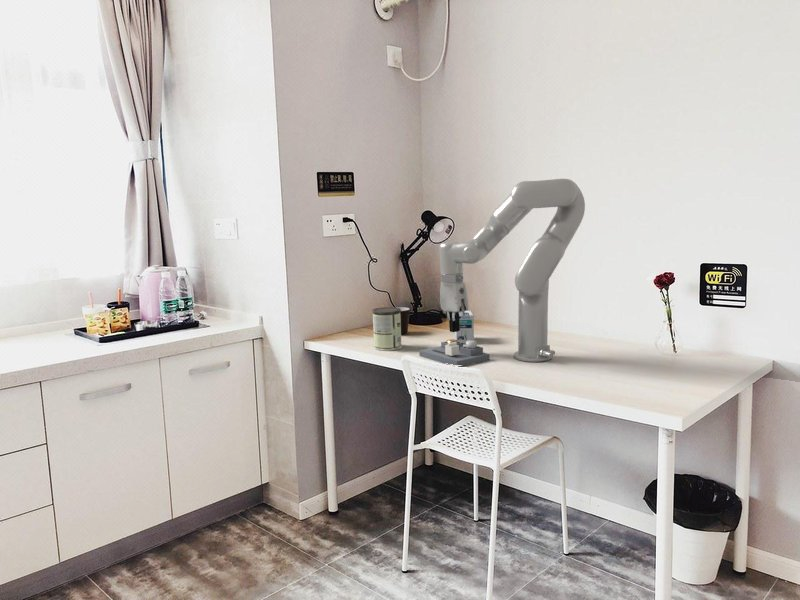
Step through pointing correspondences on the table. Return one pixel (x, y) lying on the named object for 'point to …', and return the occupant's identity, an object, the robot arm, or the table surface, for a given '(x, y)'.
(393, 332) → the coffee can
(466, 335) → the light bulb box
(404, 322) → the coffee mug
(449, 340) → the copper button
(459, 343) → the panel
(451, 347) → the slider
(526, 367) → the table surface
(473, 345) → the grey button
